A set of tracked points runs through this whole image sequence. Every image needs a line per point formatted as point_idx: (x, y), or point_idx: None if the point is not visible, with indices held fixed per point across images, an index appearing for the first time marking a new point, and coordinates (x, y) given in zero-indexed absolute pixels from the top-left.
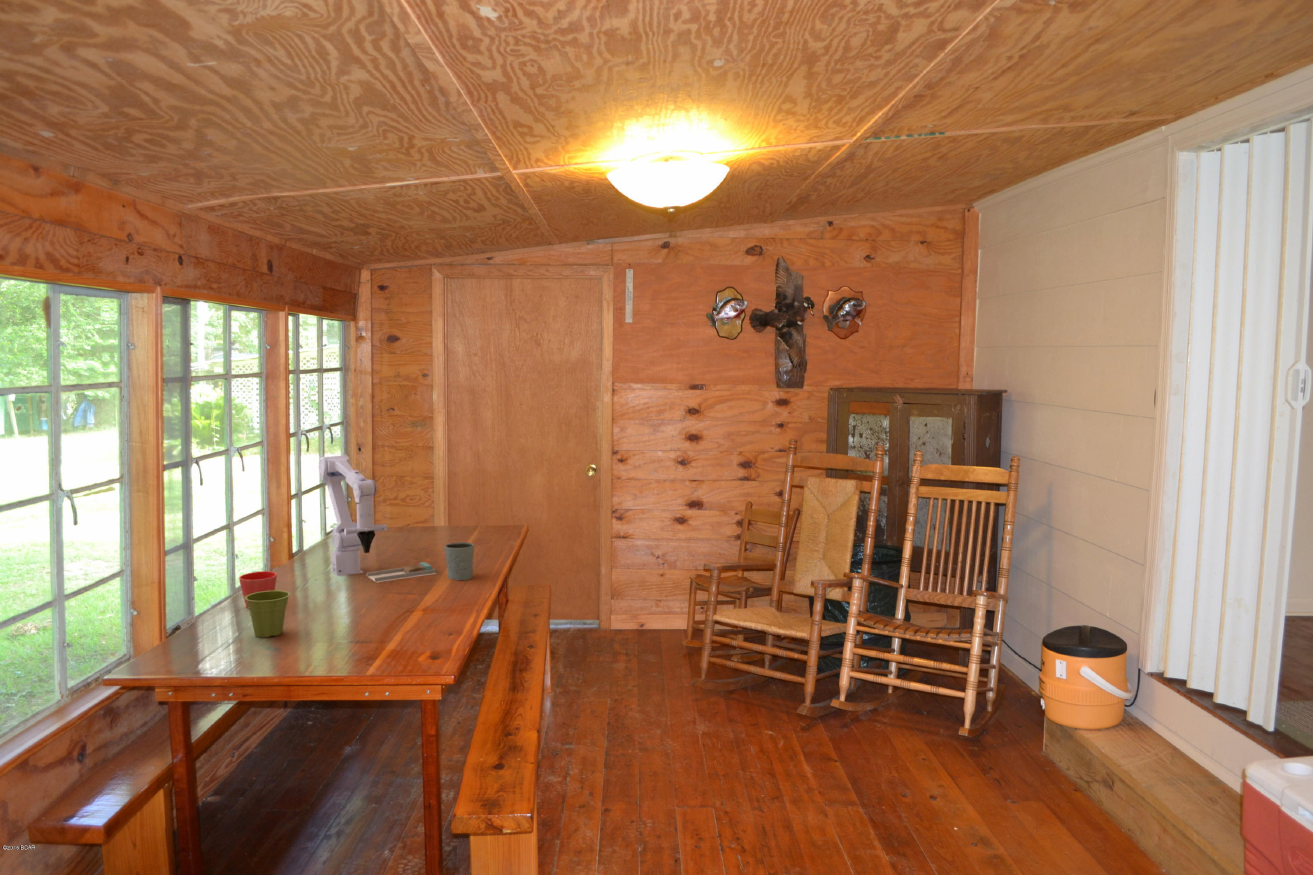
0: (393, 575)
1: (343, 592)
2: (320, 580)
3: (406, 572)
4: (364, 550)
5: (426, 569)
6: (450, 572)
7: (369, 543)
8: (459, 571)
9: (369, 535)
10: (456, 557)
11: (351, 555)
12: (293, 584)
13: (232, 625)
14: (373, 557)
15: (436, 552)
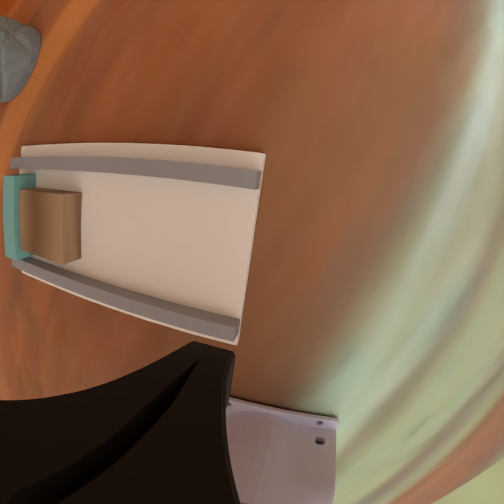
0: (147, 165)
1: (477, 123)
2: (416, 412)
3: (77, 225)
4: (227, 391)
5: (24, 175)
6: (21, 40)
7: (132, 393)
8: (14, 20)
9: (24, 476)
10: None
11: (252, 482)
12: (496, 408)
13: None
14: None
15: (8, 387)
